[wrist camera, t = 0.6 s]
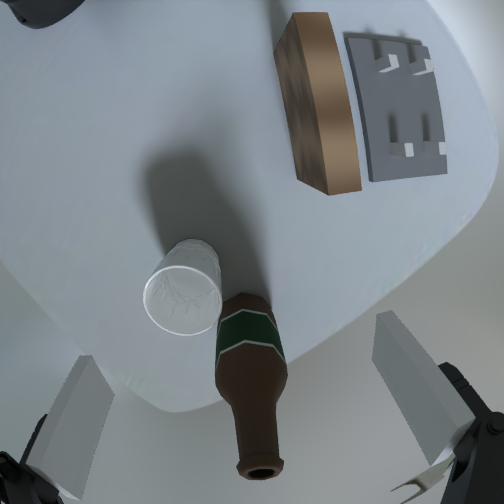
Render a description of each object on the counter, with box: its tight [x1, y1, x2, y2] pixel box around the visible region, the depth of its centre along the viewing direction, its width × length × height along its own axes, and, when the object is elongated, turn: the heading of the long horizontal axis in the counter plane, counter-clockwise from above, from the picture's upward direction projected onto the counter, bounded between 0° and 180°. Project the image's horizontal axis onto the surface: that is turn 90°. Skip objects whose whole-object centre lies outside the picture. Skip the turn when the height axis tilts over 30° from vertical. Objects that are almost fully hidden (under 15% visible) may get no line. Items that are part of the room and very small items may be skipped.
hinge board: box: [344, 38, 447, 182], centre depth 29 cm, size 19×13×5 cm
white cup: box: [143, 239, 222, 335], centre depth 32 cm, size 8×8×10 cm
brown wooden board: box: [273, 12, 362, 196], centre depth 25 cm, size 16×4×12 cm, turn 10°
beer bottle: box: [215, 293, 288, 480], centre depth 28 cm, size 8×8×24 cm
